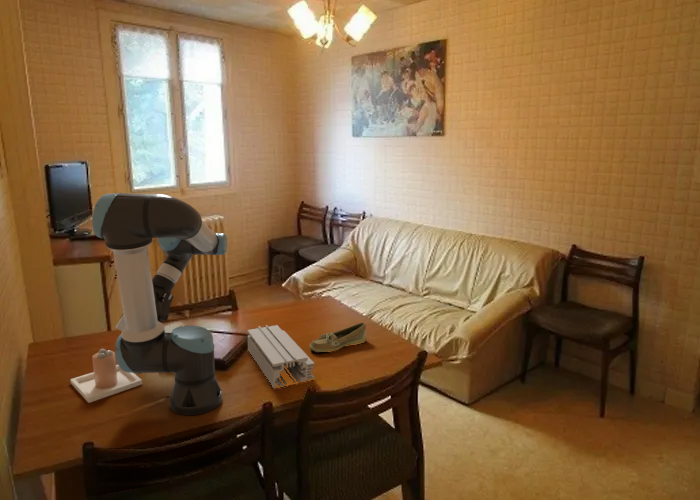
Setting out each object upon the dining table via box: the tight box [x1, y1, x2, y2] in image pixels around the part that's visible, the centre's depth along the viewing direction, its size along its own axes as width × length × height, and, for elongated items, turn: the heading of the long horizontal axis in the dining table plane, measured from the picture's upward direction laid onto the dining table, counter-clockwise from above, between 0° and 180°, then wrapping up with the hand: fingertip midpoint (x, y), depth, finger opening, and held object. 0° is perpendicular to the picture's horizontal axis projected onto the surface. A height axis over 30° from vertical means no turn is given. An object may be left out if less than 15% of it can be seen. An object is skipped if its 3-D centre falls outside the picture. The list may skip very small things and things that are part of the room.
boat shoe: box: [309, 322, 367, 353], centre depth 188 cm, size 10×24×8 cm, turn 129°
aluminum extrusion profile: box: [247, 324, 316, 389], centre depth 171 cm, size 14×31×10 cm, turn 27°
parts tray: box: [70, 364, 143, 404], centre depth 154 cm, size 16×16×2 cm
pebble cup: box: [91, 348, 118, 389], centre depth 153 cm, size 6×6×12 cm
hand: (131, 333), depth 160 cm, fingers open, 13 cm apart
